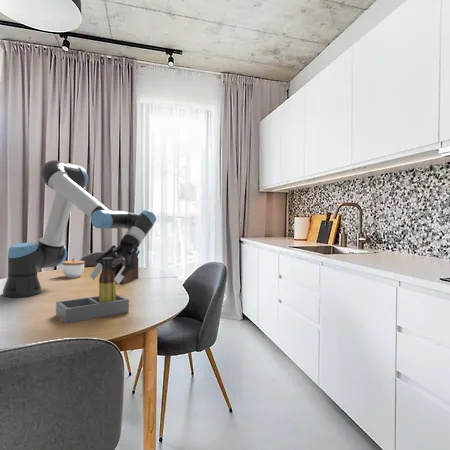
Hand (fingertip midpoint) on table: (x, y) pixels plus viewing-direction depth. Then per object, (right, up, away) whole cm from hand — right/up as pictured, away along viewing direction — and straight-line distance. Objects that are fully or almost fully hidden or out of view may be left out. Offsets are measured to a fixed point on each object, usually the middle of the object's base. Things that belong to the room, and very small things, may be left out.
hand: (103, 280), depth 124 cm
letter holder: (-13, -12, +64) cm, 66 cm away
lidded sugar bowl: (-46, -10, +71) cm, 85 cm away
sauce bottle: (+1, -12, +2) cm, 12 cm away
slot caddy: (-3, -13, -1) cm, 13 cm away
